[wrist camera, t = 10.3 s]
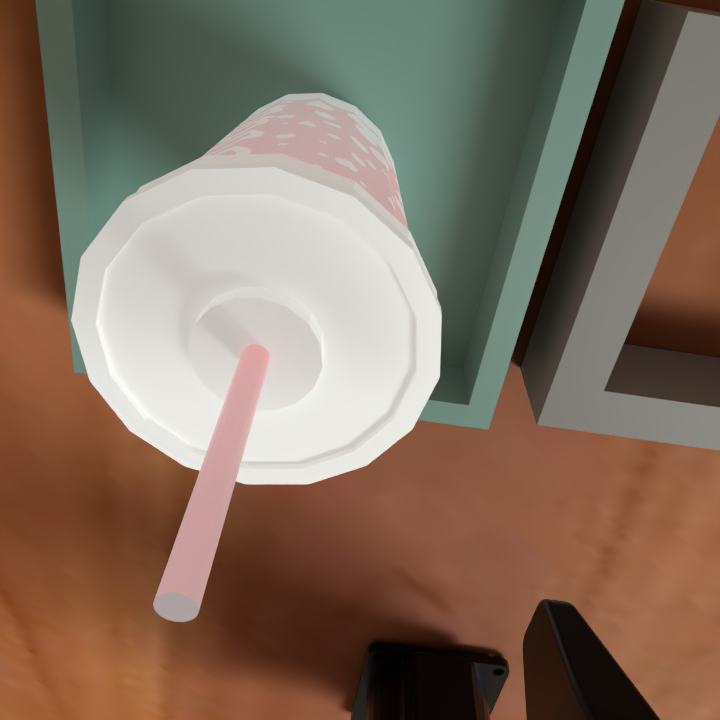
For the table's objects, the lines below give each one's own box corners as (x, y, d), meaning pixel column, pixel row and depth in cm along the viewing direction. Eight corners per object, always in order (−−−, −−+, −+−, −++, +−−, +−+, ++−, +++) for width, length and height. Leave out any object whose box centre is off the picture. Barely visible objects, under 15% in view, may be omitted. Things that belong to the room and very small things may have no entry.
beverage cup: (397, 32, 17) (413, 285, 5) (440, 257, 20) (512, 740, 8) (167, 92, 18) (-288, 423, 6) (243, 296, 21) (48, 781, 9)
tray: (479, 383, 23) (488, 429, 21) (104, 329, 22) (74, 372, 20) (606, -48, 16) (638, -45, 14) (70, -141, 15) (19, -152, 13)
